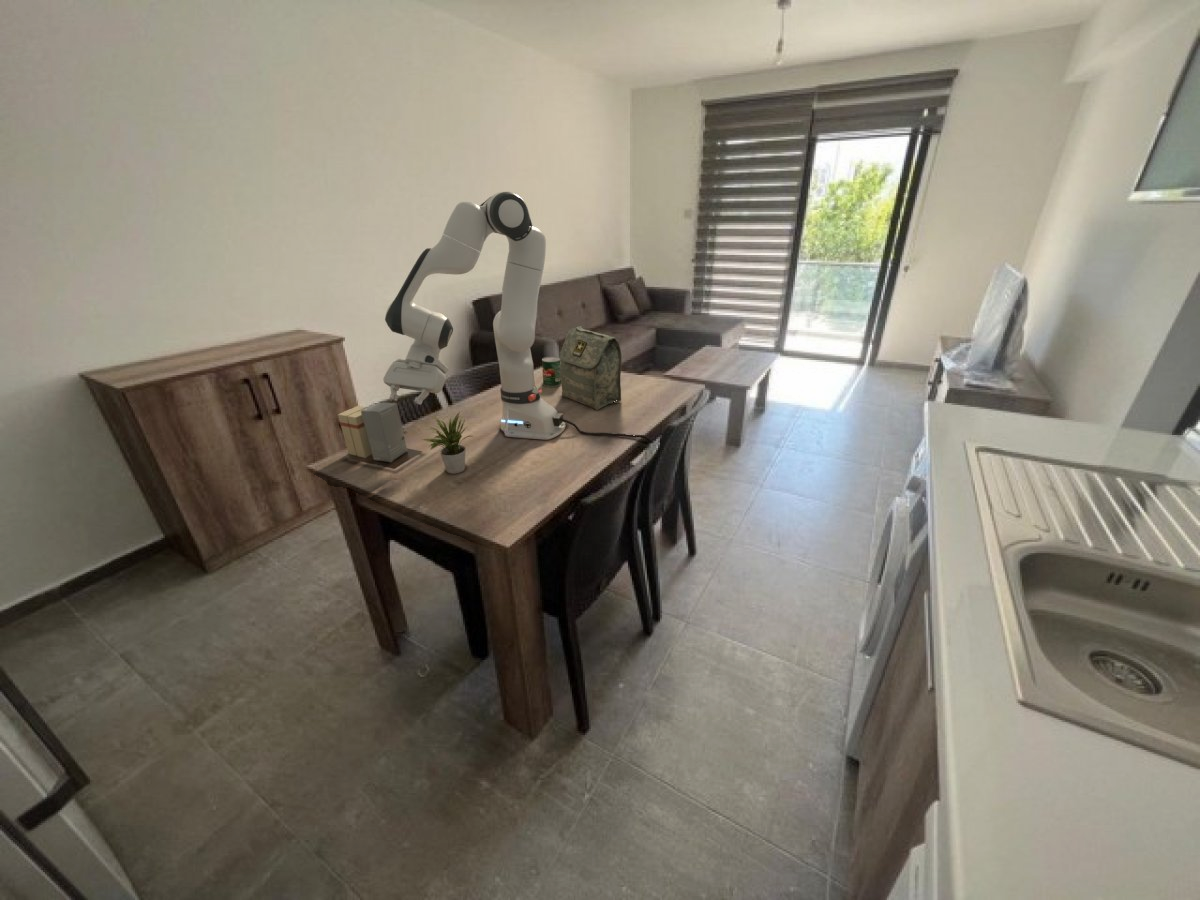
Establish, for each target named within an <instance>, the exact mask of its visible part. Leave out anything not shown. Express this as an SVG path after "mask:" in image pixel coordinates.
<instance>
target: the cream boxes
mask: <svg viewBox="0 0 1200 900" xmlns="http://www.w3.org/2000/svg"><path fill="white" fill-rule="evenodd" d="M368 407H369V406H363V405H356V406H354V407H352V408H350V409H347V410H345V411H343V412H340V413H338V414H337V416H338V420H339V424H340V425H339V426H340V427H341V432H342V435H343V440H344V442H345V446H346V450H347V454H351V455H355V456H360V457H364V458H366V457H368V456H370V455H371V454H372V452H371V448H370V444H369V440H368V436H367V432H366V428H365V425H364V421H363V417H362V413H361V410H364V409H366V408H368Z"/></svg>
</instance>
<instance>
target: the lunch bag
mask: <svg viewBox="0 0 1200 900" xmlns="http://www.w3.org/2000/svg"><path fill="white" fill-rule="evenodd" d="M558 357H559V358H560V362H561V367H560V373H561V385H560V386H561V396H562V397H564V398H568V399H570V400H573V401H575V402H577V403H580V404H582V405H585V406H588V407H591V408H593V409H595V410H597V411H598V410H600V409H602V408H604V407H605V406H608V405H610V404H616V403H618V404H619V403H620V402H621V401H622V388H621V387H622V386H621V376H622V374H621V373H622V350H621V345H620V342H619V341H618V339H617V338H616V337H615V336H611V335H608V334H604V333H600V332H595V331H592V330H588V329H584V328H583V327H582V326H581V325H579V326H575V328H571V329H570V330H569V331H568V332H567V334H566V336H565V338H564V342H563V345H562V347H561V349H560V352H559V356H558ZM616 400H617V401H616ZM614 401H615V402H614ZM613 402H614V403H613Z"/></svg>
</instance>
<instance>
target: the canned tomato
mask: <svg viewBox="0 0 1200 900" xmlns="http://www.w3.org/2000/svg"><path fill="white" fill-rule="evenodd" d="M541 367H542V368H541V369H542V382H543V383H542V384H543V386H544V387H550V388H552V387H553V388H554V387H559V386H561V373H560V367H561V360H560V357H559V356H545V357H543V358H542V359H541Z"/></svg>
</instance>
